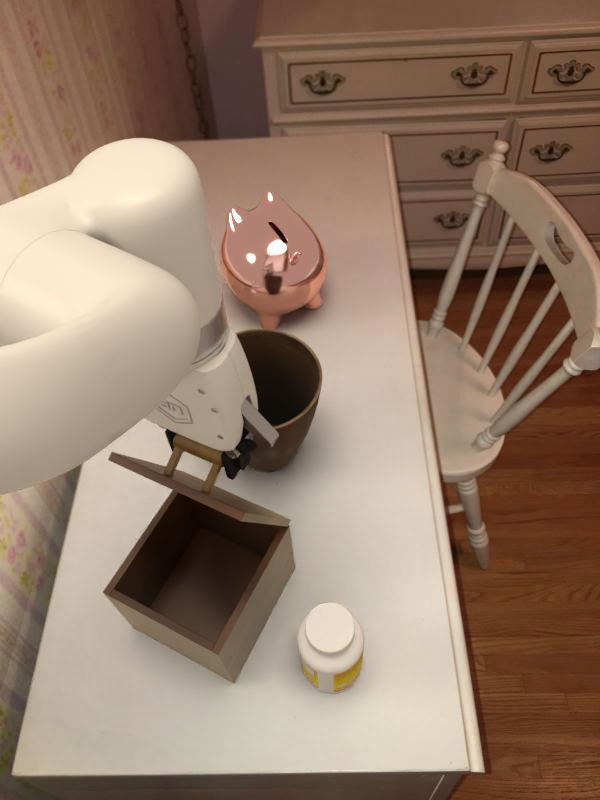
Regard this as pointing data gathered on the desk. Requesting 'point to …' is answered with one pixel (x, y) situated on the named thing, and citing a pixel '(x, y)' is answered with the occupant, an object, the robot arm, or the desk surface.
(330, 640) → the supplement bottle
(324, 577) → the desk surface
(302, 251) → the piggy bank
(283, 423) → the flower pot
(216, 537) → the chest
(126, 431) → the robot arm
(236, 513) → the brown wooden box lid
